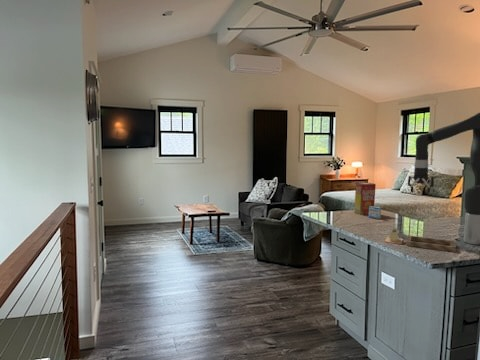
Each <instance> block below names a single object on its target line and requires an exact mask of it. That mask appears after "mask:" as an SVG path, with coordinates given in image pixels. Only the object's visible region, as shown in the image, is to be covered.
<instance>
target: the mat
mask: <svg viewBox="0 0 480 360" xmlns="http://www.w3.org/2000/svg"><path fill="white" fill-rule="evenodd" d="M403 242H404V238H399V237H398V241H397V242H394V241H390V236H386V238H385V240H384V243H387V244H390V243H391V244H397V245H402V244H403Z"/></svg>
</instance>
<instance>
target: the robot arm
mask: <svg viewBox="0 0 480 360" xmlns="http://www.w3.org/2000/svg"><path fill="white" fill-rule="evenodd" d="M468 131H472V141H471V146H470V153H469V154H470V155H469V164H470V167H471V171H472V173H473V176H474V185H473V186H469V187H468V188H466V189H465V193H464V210H465V217H464V228H463V242H464V243H467V244H470V245H480V112H477V113H476V114H474V115H473V116H470V117H469V118H466V119H464V120H461V121H459V122H456V123H453V124H450V125H447V126H443V127H440V128H437V129H435V130H433V131H431V132H428V133H425V134H418V136H417V137H416V138H415V157H414V158H415V160H414V170H413V176H410V175H409V176H408V179H407V180H408V181H407V186H409V187H410V192H411V193H412V194H413V193H414V186H415V185H416V184H422V185H423V184H425V185H426V190H427V191H426V194H427V195H428V194H430V192H431V188H432V187H434V176H429V145H431V144H434V143H436V142H440V141H443V140H447V139H449V138H453V137H454V136H457V135H459V134H462V133H464V132H468ZM411 180H414V181H412V183H411ZM428 180H429V181H430V184H429V183H428Z"/></svg>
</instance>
